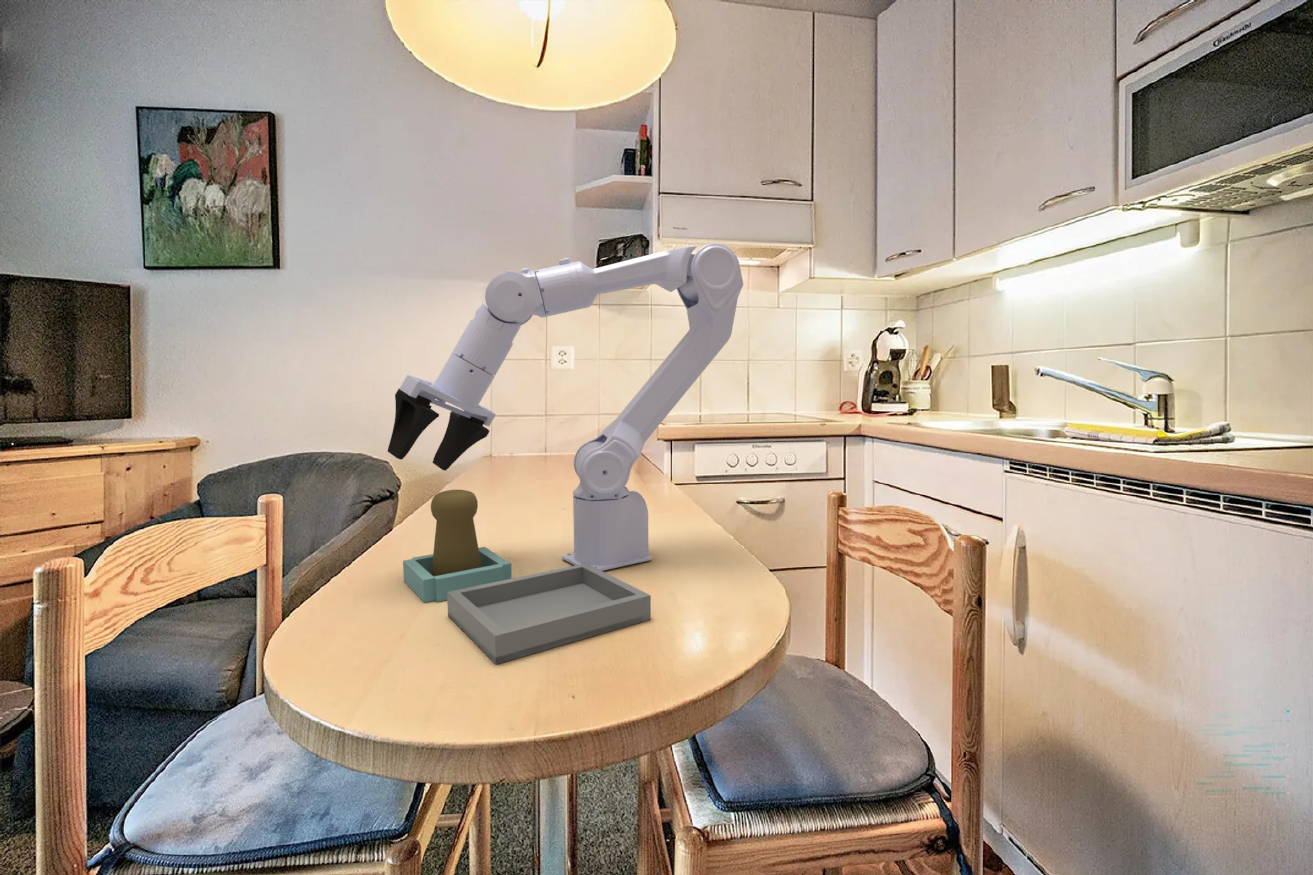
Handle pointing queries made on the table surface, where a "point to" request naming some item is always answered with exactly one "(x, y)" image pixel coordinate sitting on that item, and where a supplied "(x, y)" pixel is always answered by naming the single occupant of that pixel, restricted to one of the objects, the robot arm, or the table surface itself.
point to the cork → (454, 532)
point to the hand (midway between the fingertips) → (417, 461)
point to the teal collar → (453, 575)
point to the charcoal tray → (545, 610)
